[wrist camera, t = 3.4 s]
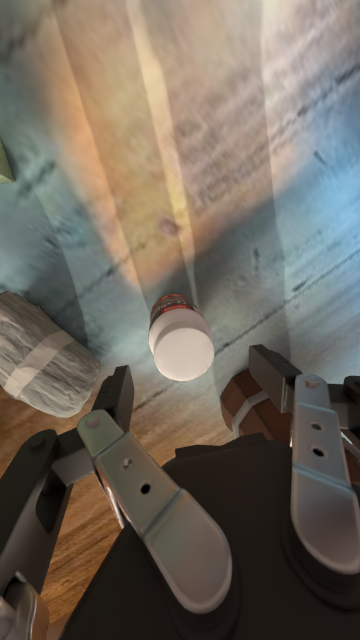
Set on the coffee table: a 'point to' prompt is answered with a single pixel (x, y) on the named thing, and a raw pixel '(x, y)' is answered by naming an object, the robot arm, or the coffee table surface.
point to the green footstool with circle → (4, 167)
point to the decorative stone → (42, 360)
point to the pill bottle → (180, 338)
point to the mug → (266, 417)
